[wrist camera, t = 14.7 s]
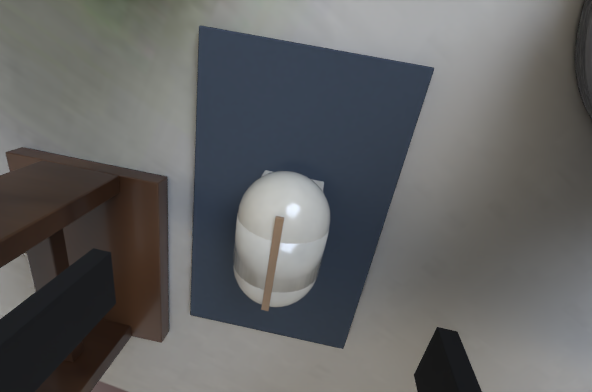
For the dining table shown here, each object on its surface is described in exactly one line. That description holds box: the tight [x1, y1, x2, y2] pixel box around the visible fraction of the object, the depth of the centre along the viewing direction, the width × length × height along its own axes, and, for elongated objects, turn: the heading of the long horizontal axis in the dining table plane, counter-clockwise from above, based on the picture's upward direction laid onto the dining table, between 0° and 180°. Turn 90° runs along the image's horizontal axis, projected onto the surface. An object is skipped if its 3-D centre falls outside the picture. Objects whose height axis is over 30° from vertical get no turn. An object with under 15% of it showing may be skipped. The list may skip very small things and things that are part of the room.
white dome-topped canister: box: [233, 170, 331, 311], centre depth 18 cm, size 5×8×5 cm, turn 170°
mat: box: [190, 26, 434, 349], centre depth 20 cm, size 12×20×1 cm, turn 170°
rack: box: [0, 147, 169, 392], centre depth 19 cm, size 10×14×11 cm
